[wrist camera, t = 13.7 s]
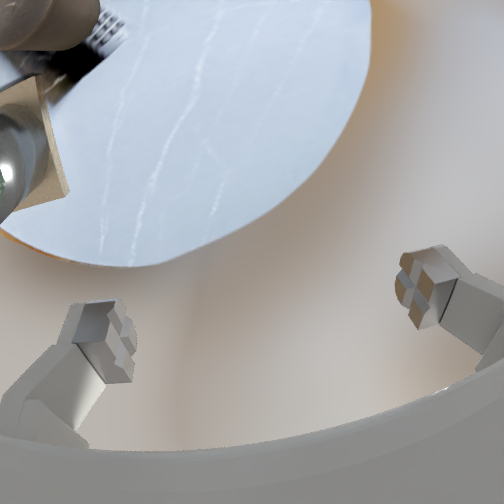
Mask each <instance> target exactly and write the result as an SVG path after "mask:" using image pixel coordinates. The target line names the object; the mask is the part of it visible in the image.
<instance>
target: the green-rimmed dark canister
mask: <svg viewBox="0 0 504 504" xmlns="http://www.w3.org/2000/svg"><path fill="white" fill-rule="evenodd" d="M69 192H70V190H69V187H68V184H67V181H66V177H65V174H64V171H63V167H62V164H61V160H60V157H59V153H58V149H57V146H56V142H55V138H54V134H53V130H52V126H51V121H50V117H49V112H48V107H47V103H46V98H45V92H44V87H43V81H42V75H36V76H33V77H31V78H28V79H26V80H24V81H22V82H20V83H18V84H16V85H14V86H12V87H10V88H8V89H6V90H4V91H3V92H1V93H0V224H1V223H2V222H3V221H4V220H5V219H6V218H7V217H8V216H9V215H10V214H11V213H12V212H15V211H18V210H21V209H24V208H28V207H31V206H35V205H38V204H41V203H45V202H49V201H52V200H56V199H59V198H63V197H65V196H66V195H67V194H68V193H69Z"/></svg>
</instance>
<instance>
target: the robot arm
mask: <svg viewBox="0 0 504 504" xmlns="http://www.w3.org/2000/svg"><path fill="white" fill-rule="evenodd" d="M399 265H400V267H401V268H402V270H401V271H400V272H399V273H398V275H397V276H396V280H395V292H396V295H397V298H398V300H399V302H400V303H401V305H403V306H405V307H406V308H408V309H409V313H408V316H409V317H410V319H411V320H412V322H413V323H414V325H415V327H416V328H417V330H421V329H424V328H428V327H431V326H434V325H437V324H440V326H441V327H443V328H444V329H446V330H447V331H448V332H450V333H451V334H453V335H454V336H456V337H457V338H458V339H460V340H461V341H463V342H464V343H465V344H467V345H468V346H470V347H471V348H472V349H474V350H475V351H477V352H478V353H480V354H481V355H482V356H481V358H480V359H479V361H478V363H477V364H476V366H475V370H476V372H477V373H475V374H473V375H471V376H469V377H467V378H465V379H463V380H461V381H459V382H456V383H455V384H452V385H450V386H448V387H446V388H443V389H441V390H439V391H437V392H434V393H432V394H430V395H427V396H425V397H422V398H420V399H417V400H415V401H412V402H410V403H407V404H404V405H402V406H399V407H396V408H394V409H391V410H388V411H385V412H382V413H379V414H376V415H373V416H370V417H367V418H364V419H360V420H357V421H353V422H350V423H347V424H343V425H340V426H336V427H332V428H328V429H324V430H320V431H316V432H311V433H307V434H302V435H298V436H294V437H288V438H283V439H278V440H272V441H266V442H260V443H253V444H246V445H239V446H230V447H221V448H211V449H199V450H183V451H150V452H149V451H144V452H142V451H111V450H96V449H89V444H88V442H87V441H86V440H85V439H83V438H82V437H81V436H80V435H79V434H77V433H76V430H77V429H78V427H79V425H80V424H81V422H82V421H83V419H84V418H85V416H86V415H87V413H88V412H89V410H90V409H91V407H92V406H93V404H94V403H95V401H96V400H97V399H98V397H99V396H100V394H101V393H102V391H103V390H104V388H105V387H106V384H115V383H129V382H132V380H133V372H134V364H135V363H134V361H133V360H132V358H131V356H132V355H133V354H134V353H135V352H136V349H137V334H136V330H135V327H134V324H133V322H132V320H131V319H130V318H128V317H127V316H125V311H126V307H125V305H124V303H123V301H122V300H121V299H119V298H115V299H105V300H95V301H88V302H77V303H73V304H72V305H71V306H70V309H69V311H68V314H67V316H66V319H65V321H64V324H63V327H62V330H61V332H60V335H59V338H58V341H57V344H56V345H51V347H49V348H48V349H47V350H46V351H45V352H44V353H43V354H42V355H41V356H40V357H39V358H38V359H37V360H36V361H35V362H34V363H33V364H32V365H31V366H30V367H29V369H28V370H26V371H25V373H23V374H22V375H21V377H20V378H19V379H18V380H17V381H16V382H15V383H14V384H13V385H12V386H11V387H10V388H9V389H8V390H7V391H6V392H5V393H4V394H3V397H2V400H1V403H0V504H504V286H503V285H501V284H498V283H496V282H494V281H492V280H490V279H488V278H486V277H483V276H481V275H479V274H477V273H475V274H473V273H472V272H471V271H470V270H469V269H468V268H467V267H466V266H465V265H464V264H463V263H462V262H461V261H460V260H459V259H458V258H457V257H456V256H455V255H454V253H452V251H451V250H449V248H448V247H446V246H444V245H437V246H433V247H429V248H425V249H420V250H416V251H410V252H405V253H403V255H402V256H401V259H400V263H399Z"/></svg>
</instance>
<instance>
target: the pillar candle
mask: <svg viewBox="0 0 504 504" xmlns="http://www.w3.org/2000/svg"><path fill="white" fill-rule="evenodd" d="M99 14H100V2H99V0H0V51H15V50H17V51H18V50H19V51H21V50H40V51H61V50H66V49H70V48H71V47H74V46H76V45H78V44H79V43H81V42H82V41H83V40H84V39H86V38H87V37H88V36H89V34H90V33H91V32H92V30H93V28H94V26H95V24H96V23H97V21H98V18H99Z"/></svg>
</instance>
